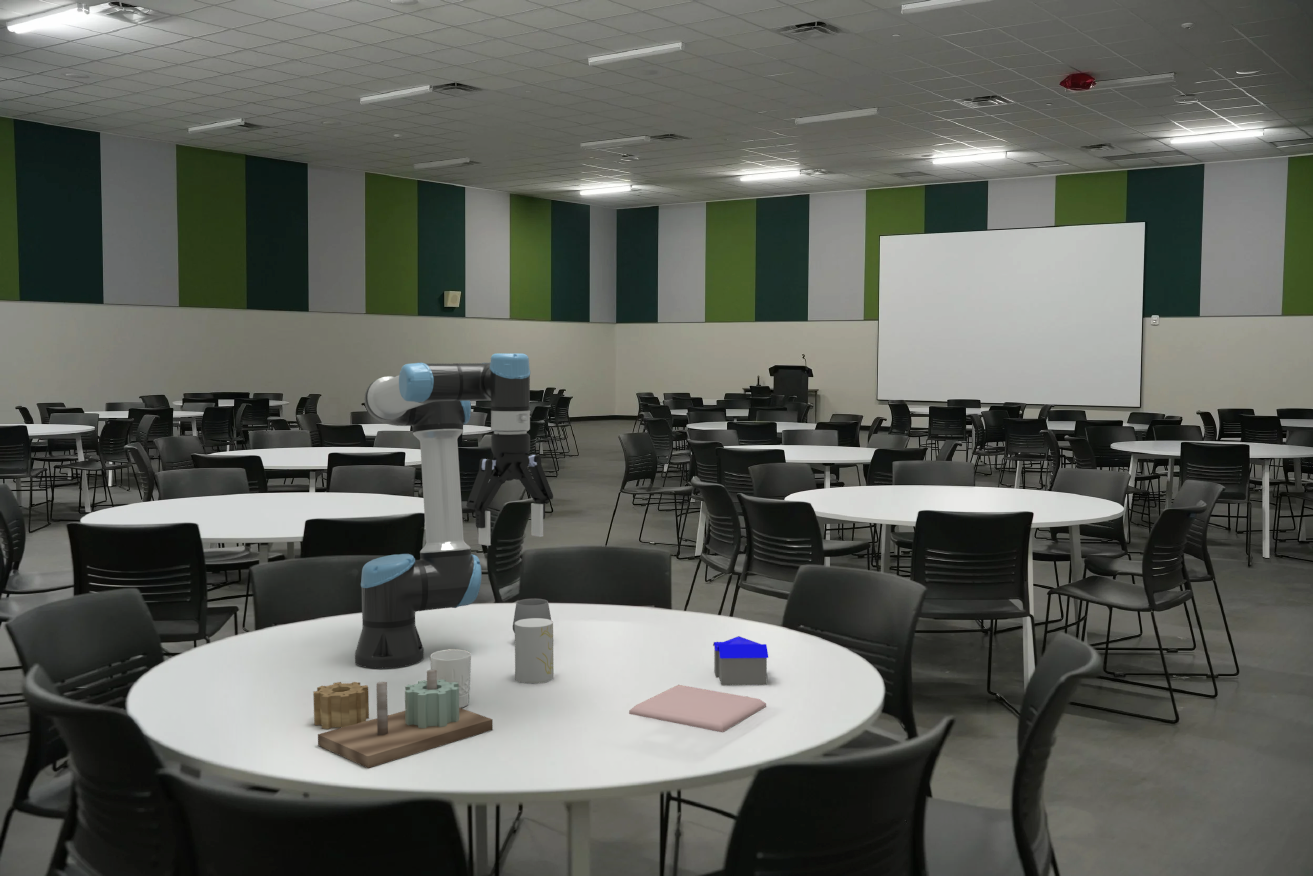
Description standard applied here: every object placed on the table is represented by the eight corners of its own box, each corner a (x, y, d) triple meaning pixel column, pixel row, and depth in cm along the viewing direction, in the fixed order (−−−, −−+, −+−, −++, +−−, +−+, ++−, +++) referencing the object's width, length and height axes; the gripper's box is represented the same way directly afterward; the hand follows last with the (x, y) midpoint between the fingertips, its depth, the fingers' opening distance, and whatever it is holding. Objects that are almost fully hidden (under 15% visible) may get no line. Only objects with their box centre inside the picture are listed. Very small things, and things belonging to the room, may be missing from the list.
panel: (641, 686, 230) (641, 675, 230) (786, 712, 212) (786, 700, 212) (537, 734, 201) (537, 721, 200) (695, 769, 183) (695, 755, 183)
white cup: (433, 699, 219) (432, 649, 219) (473, 698, 220) (472, 648, 219) (428, 711, 212) (427, 660, 211) (470, 710, 212) (469, 659, 212)
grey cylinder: (547, 684, 229) (546, 628, 228) (509, 682, 231) (509, 626, 230) (558, 674, 237) (557, 619, 236) (522, 671, 239) (521, 617, 238)
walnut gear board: (318, 745, 193) (316, 683, 192) (440, 711, 212) (439, 655, 211) (367, 768, 182) (366, 703, 181) (492, 730, 201) (491, 670, 200)
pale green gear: (394, 722, 199) (393, 689, 199) (432, 708, 207) (431, 676, 207) (432, 731, 194) (432, 698, 193) (470, 716, 202) (469, 684, 201)
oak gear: (305, 721, 206) (304, 689, 205) (350, 709, 213) (350, 679, 212) (332, 732, 199) (331, 700, 199) (378, 720, 206) (377, 688, 206)
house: (712, 672, 238) (712, 636, 238) (761, 671, 239) (761, 635, 238) (717, 686, 228) (717, 649, 227) (768, 686, 228) (768, 648, 228)
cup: (560, 641, 265) (559, 600, 264) (535, 650, 257) (535, 607, 256) (529, 636, 270) (529, 596, 269) (504, 644, 262) (504, 603, 261)
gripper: (472, 436, 202) (473, 550, 204) (570, 430, 221) (570, 534, 222) (447, 434, 207) (448, 546, 209) (544, 428, 226) (545, 530, 227)
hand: (511, 540), depth 216 cm, fingers open, 13 cm apart
